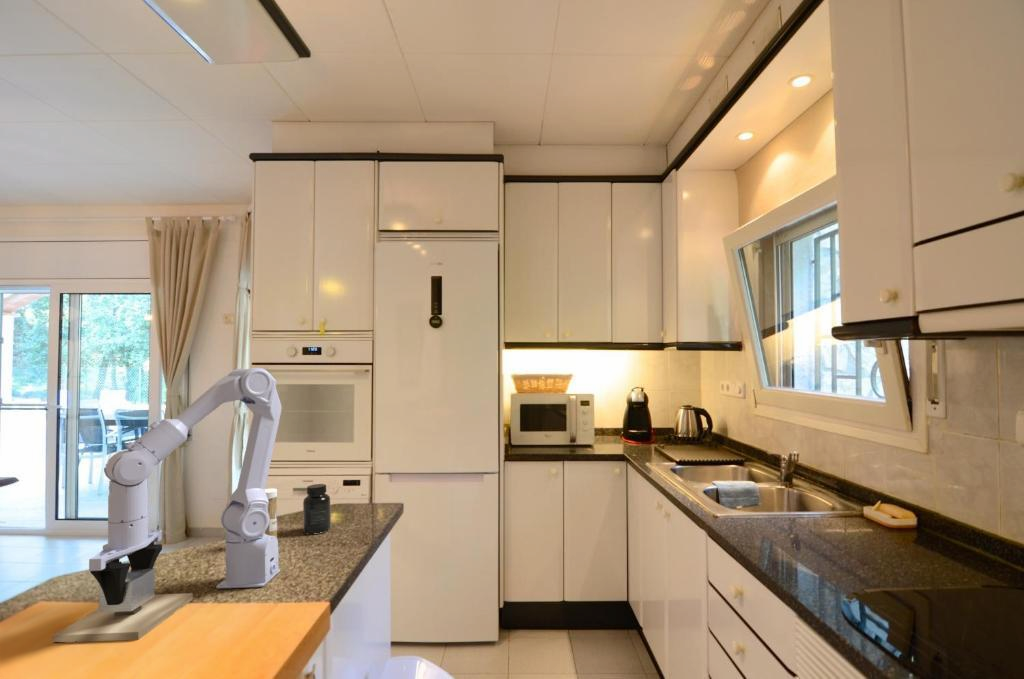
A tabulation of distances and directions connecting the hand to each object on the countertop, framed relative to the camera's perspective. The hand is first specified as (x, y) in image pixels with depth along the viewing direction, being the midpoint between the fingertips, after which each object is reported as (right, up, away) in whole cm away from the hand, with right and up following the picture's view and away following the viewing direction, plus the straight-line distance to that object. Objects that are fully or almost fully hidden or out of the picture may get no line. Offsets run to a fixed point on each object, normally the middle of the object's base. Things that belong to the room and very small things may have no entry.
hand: (128, 595), depth 89 cm
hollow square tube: (0, -1, 0) cm, 1 cm away
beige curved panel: (0, -4, 0) cm, 4 cm away
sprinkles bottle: (+7, -6, +37) cm, 38 cm away
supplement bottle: (+16, -6, +46) cm, 49 cm away
